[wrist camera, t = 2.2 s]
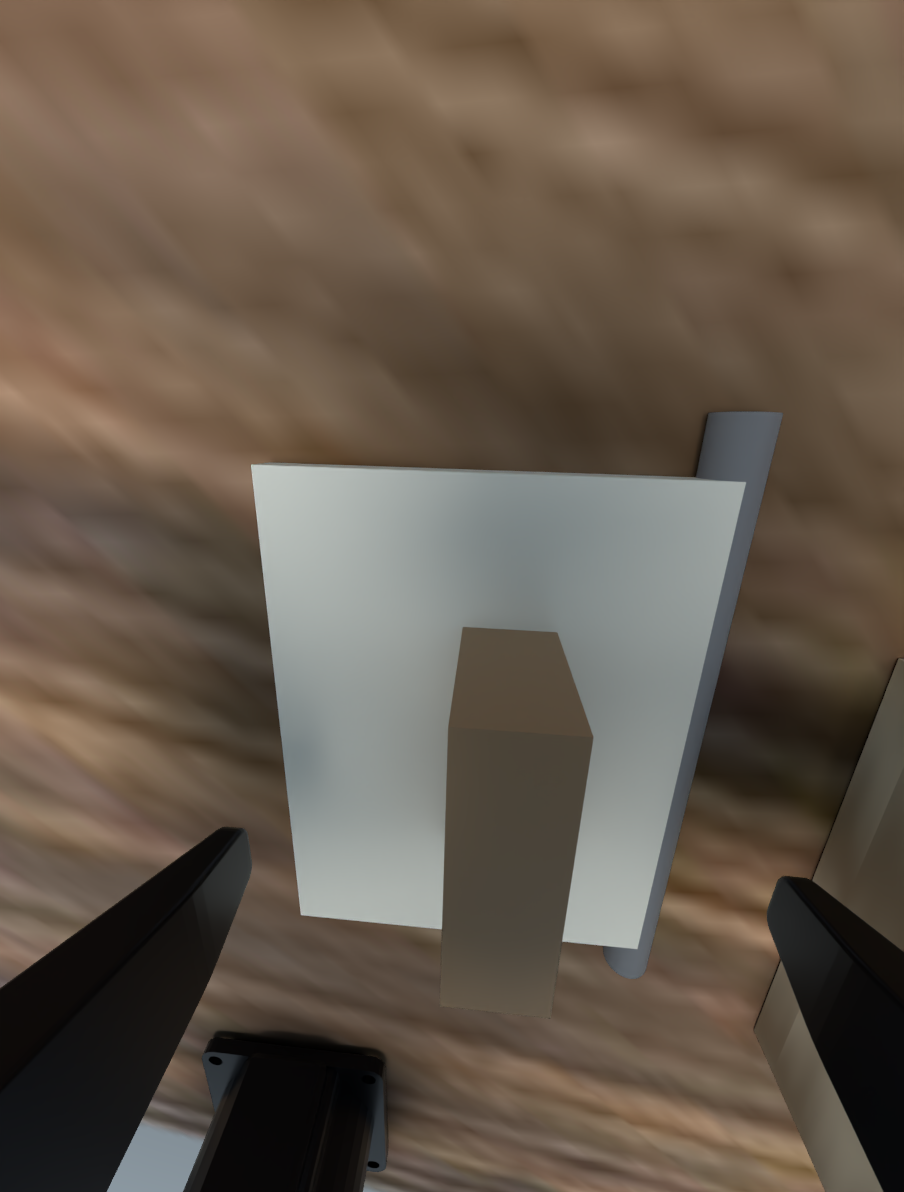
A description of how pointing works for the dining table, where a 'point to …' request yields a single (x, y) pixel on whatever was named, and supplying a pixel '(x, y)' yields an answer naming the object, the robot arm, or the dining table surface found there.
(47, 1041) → the robot arm
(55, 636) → the dining table surface
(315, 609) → the cabinet door
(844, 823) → the cabinet
